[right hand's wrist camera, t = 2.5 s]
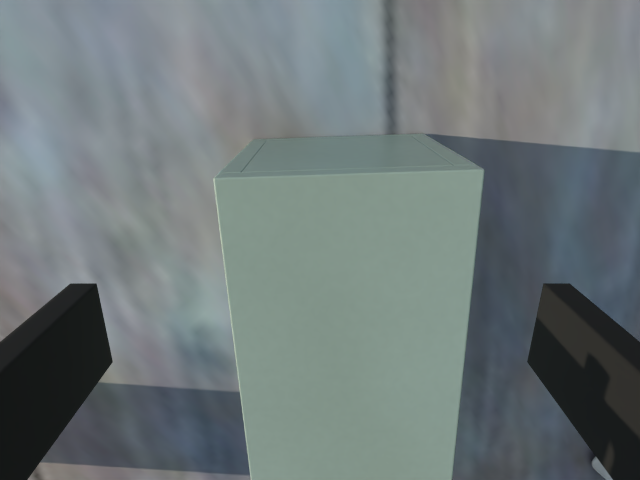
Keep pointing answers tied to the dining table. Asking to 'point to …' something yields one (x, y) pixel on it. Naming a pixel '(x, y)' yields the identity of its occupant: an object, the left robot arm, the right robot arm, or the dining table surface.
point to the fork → (600, 469)
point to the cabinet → (350, 302)
